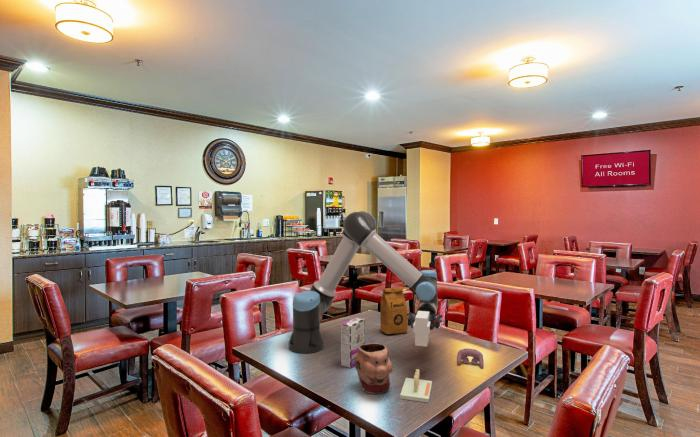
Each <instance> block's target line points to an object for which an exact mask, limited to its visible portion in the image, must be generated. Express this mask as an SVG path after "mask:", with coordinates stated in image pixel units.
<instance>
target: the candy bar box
mask: <svg viewBox="0 0 700 437" xmlns="http://www.w3.org/2000/svg"><path fill="white" fill-rule="evenodd" d="M365 320H366V319H365V318H361V317H355V316H354V317H353V318H351V319H349V320H347V321H345V322H343V323H341V324H340V366H342V367H345V368H349V369H352V368H355V356H356V354H357V353H358V349H359V346H361V345H363V344H366V332H365V331H366V330H365V328H366V327H365V326H366V325H365V324H366V321H365Z"/></svg>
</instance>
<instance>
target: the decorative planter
mask: <svg viewBox="0 0 700 437" xmlns="http://www.w3.org/2000/svg"><path fill="white" fill-rule="evenodd" d="M393 366H394V365H393V363H392V361H391V357H390V354H389V349H388V348H387V346H386V345H384V344H382V343H375V342H372V343H365V344H363V345H361V346H359V349H358V353H357V354H356V356H355V366H354V368H355V370H356V374H357V376H358V379H359V383H360V387H361V389H362V390H363V391H365V393H369V394H373V395H375V394H382V393H386V392H388V390H390V386H391V381H390V380H391V379H390V375H391V374H392V373H393V369H394V368H393Z"/></svg>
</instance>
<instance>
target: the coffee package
mask: <svg viewBox="0 0 700 437" xmlns="http://www.w3.org/2000/svg"><path fill="white" fill-rule="evenodd" d="M379 316H380V320H379V321H380V322H379V323H380V327H379V328H380V331H381V332H383V333H384V334H387V335H394V334H396V335H397V334H398V335H399V334H404V333H405V334H406V333H408V329H409V328H408V327H409V326H408V307H407V303H406V298H405V295H404V287H403V286H401V287H388V288H383V290H382V295H381V300H380V315H379Z"/></svg>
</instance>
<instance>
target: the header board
mask: <svg viewBox="0 0 700 437" xmlns="http://www.w3.org/2000/svg"><path fill="white" fill-rule="evenodd" d="M432 387H433V380H427V379H426V380H425V379H420V369H418V368H416V369H415V372H414V375H413V378H410V377H405V380H404V382H403V385H402V388H401V392H400V394H399V399H400V400H407V401H412V402H421V403H429V402H430V397H431V392H432Z"/></svg>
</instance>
